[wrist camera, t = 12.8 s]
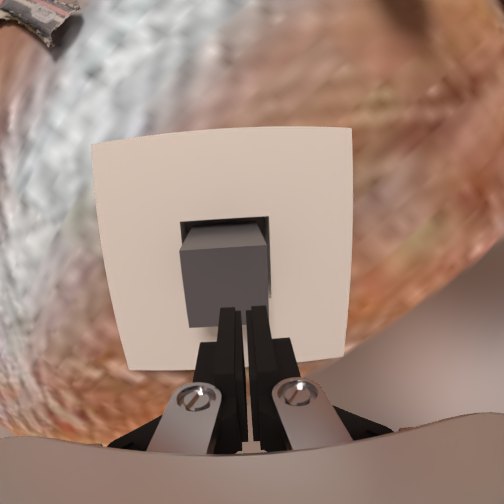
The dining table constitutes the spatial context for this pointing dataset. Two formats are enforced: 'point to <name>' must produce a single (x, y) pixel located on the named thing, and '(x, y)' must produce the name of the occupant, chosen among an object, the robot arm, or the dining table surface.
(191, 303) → the plug
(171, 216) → the socket
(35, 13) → the table tennis paddle
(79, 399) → the dining table surface
